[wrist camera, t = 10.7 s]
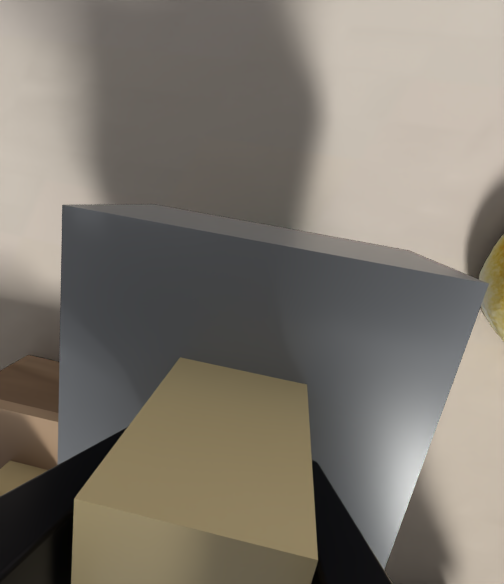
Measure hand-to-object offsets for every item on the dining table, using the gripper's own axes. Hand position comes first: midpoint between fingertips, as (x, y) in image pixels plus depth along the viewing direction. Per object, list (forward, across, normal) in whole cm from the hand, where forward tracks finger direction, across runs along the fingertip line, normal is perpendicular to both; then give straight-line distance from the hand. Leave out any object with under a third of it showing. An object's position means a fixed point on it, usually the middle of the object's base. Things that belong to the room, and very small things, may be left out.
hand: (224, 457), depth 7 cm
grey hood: (+6, 0, 0) cm, 6 cm away
